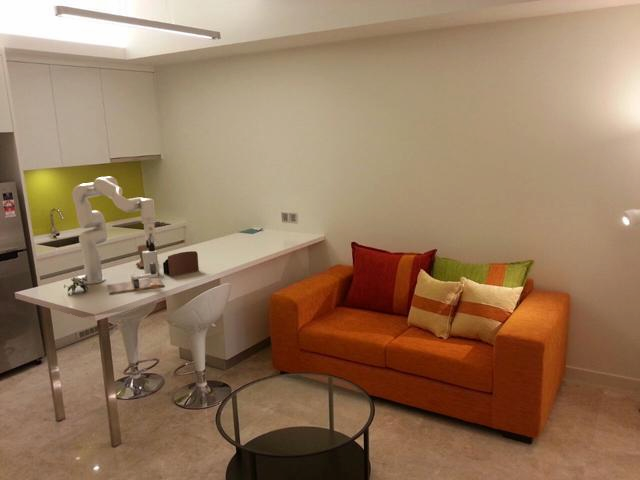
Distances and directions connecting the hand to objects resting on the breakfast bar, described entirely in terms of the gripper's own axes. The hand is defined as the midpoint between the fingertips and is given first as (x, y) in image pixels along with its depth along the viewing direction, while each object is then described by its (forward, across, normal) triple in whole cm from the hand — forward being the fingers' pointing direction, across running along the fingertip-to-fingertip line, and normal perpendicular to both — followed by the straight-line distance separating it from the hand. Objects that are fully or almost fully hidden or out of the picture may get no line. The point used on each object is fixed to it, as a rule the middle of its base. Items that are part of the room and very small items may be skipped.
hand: (150, 249), depth 312 cm
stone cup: (+23, +55, -4) cm, 60 cm away
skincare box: (+23, +31, -4) cm, 39 cm away
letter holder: (+23, +24, -21) cm, 39 cm away
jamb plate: (+22, +5, +9) cm, 25 cm away
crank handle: (+16, 0, +5) cm, 17 cm away
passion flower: (+23, +9, +40) cm, 48 cm away
